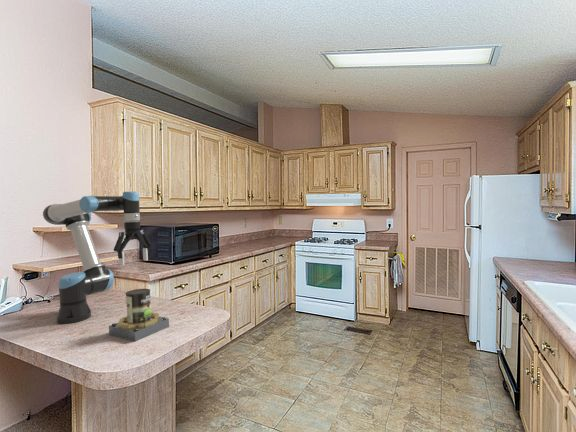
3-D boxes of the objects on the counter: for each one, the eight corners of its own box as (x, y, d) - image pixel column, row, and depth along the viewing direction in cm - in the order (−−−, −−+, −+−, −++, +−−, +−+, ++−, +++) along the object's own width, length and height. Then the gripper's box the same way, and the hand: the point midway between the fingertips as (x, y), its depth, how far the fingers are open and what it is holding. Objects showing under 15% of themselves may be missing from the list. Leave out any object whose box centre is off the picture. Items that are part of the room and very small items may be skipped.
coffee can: (156, 317, 154) (154, 288, 154) (142, 326, 144) (140, 294, 143) (137, 317, 156) (135, 288, 156) (122, 325, 146) (120, 294, 145)
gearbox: (109, 334, 146) (108, 321, 146) (143, 321, 162) (143, 309, 162) (135, 341, 138) (134, 327, 138) (169, 326, 154) (168, 314, 153)
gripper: (113, 223, 154) (116, 267, 155) (157, 220, 176) (159, 258, 177) (104, 223, 158) (106, 266, 159) (148, 220, 180) (149, 258, 181)
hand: (134, 262), depth 168 cm, fingers open, 13 cm apart
